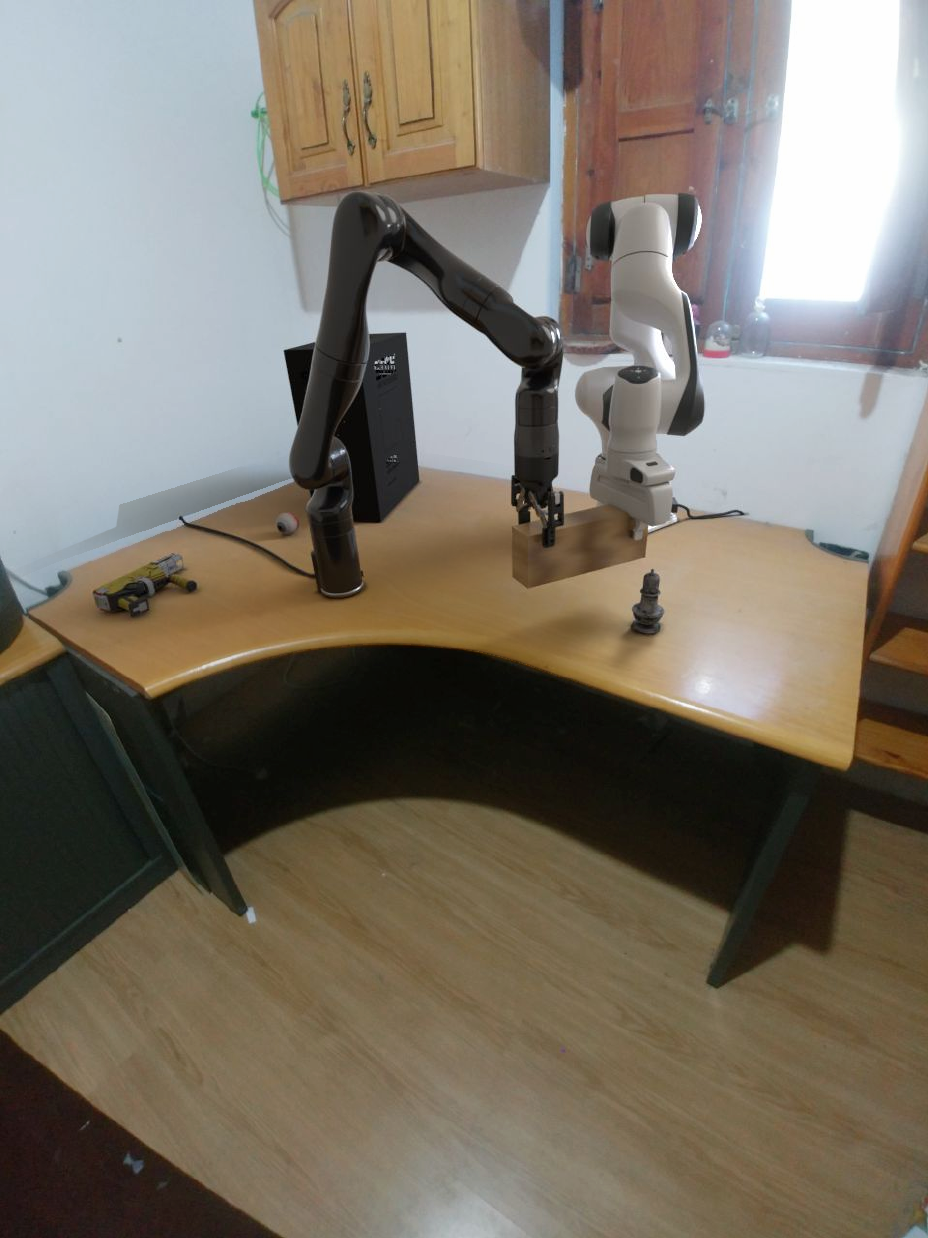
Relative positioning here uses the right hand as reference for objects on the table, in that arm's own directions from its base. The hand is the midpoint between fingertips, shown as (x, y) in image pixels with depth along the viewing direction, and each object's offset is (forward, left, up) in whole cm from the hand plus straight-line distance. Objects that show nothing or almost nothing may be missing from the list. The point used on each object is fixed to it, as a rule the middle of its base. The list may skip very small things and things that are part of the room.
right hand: (624, 532), depth 118 cm
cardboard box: (+26, -89, -14) cm, 94 cm away
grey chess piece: (+3, +13, -14) cm, 19 cm away
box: (+10, 0, -5) cm, 11 cm away
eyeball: (+55, -73, -14) cm, 92 cm away
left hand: (+20, 0, +3) cm, 20 cm away
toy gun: (+87, -52, -14) cm, 103 cm away
